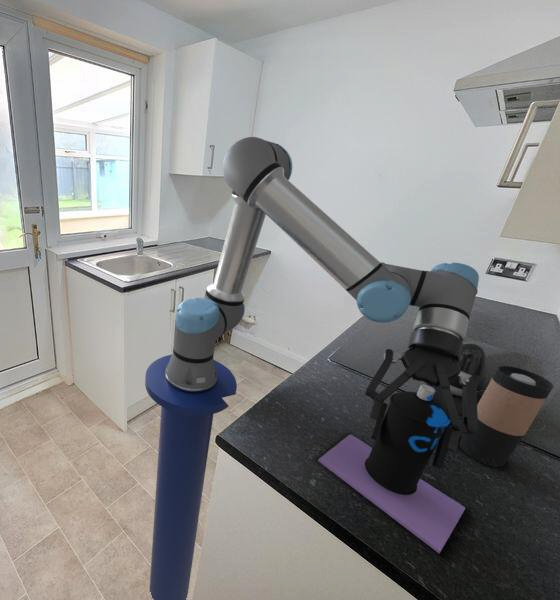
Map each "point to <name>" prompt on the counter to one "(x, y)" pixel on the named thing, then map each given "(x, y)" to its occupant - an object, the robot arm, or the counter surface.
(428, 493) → the towel
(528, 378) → the travel mug
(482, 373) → the black egg-shaped dome
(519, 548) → the counter surface
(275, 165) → the robot arm
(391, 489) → the aerosol can
